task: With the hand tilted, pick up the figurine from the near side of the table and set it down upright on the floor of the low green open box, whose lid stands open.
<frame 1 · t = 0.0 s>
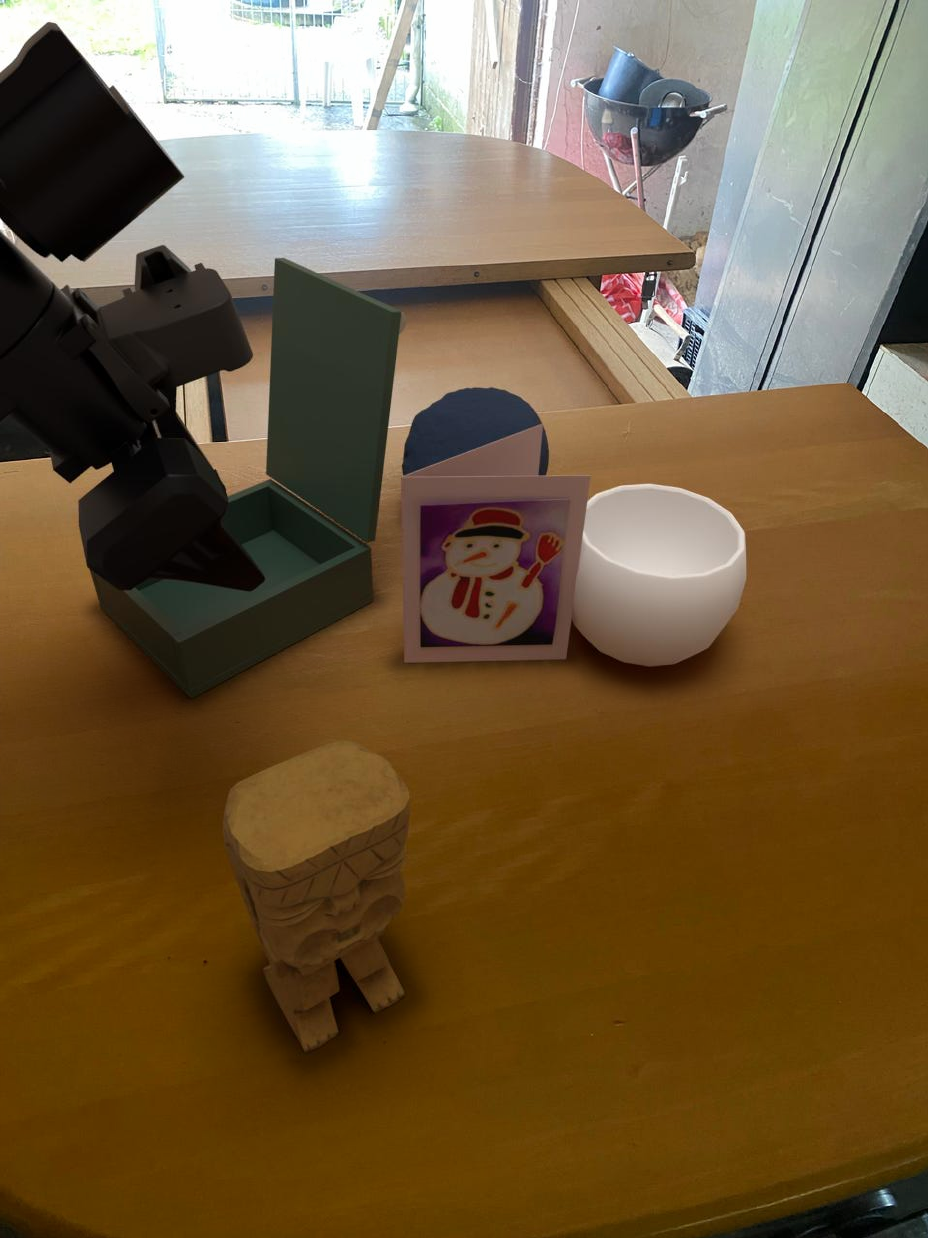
hand: (237, 537, 51), 14 cm above the table, tool tilted 35°, fingers open, 9 cm apart
green open box: (238, 605, 69), on the table
box lid: (346, 398, 66), point 13 cm above the table, hinge at 100.0°
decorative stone: (473, 517, 79), on the table
cup: (638, 639, 67), on the table
greeting card: (482, 636, 67), on the table
figurine: (330, 979, 46), on the table
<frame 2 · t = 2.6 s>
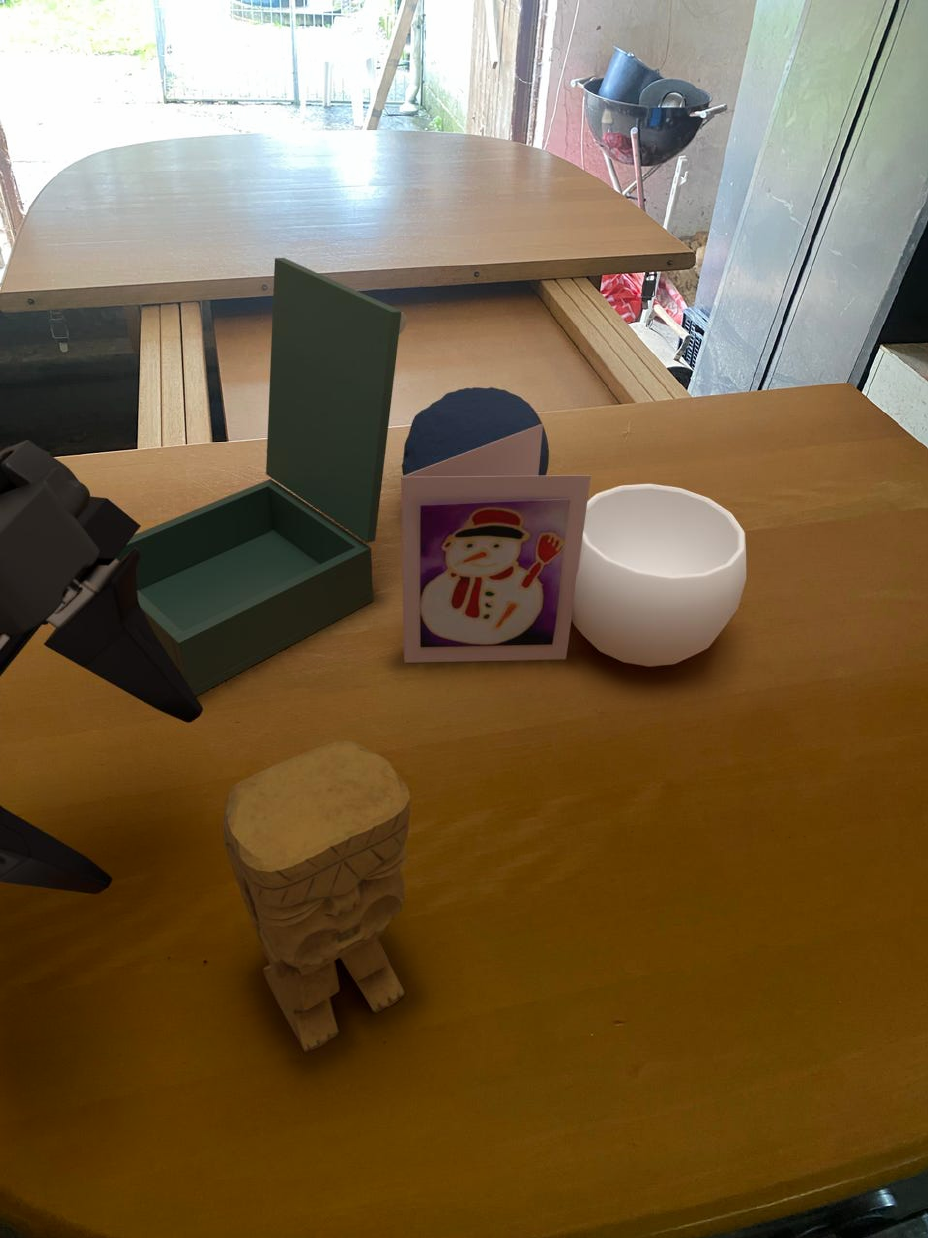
hand: (155, 794, 39), 13 cm above the table, tool tilted 45°, fingers open, 9 cm apart
nothing on the table moved.
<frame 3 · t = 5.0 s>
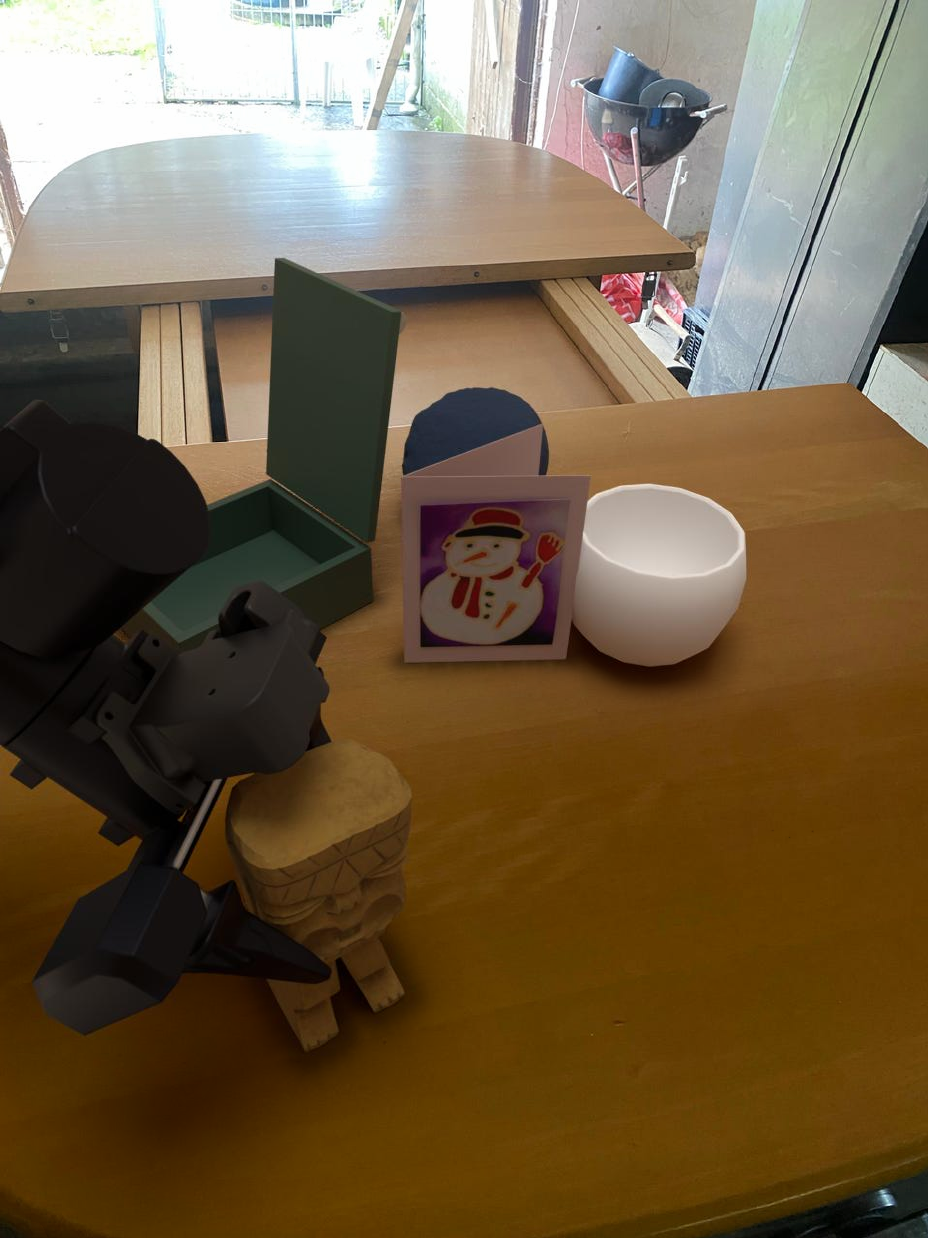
hand: (349, 896, 41), 8 cm above the table, tool tilted 45°, fingers closed on figurine, 7 cm apart
figurine: (330, 979, 46), on the table, touching gripper
everything else where it was.
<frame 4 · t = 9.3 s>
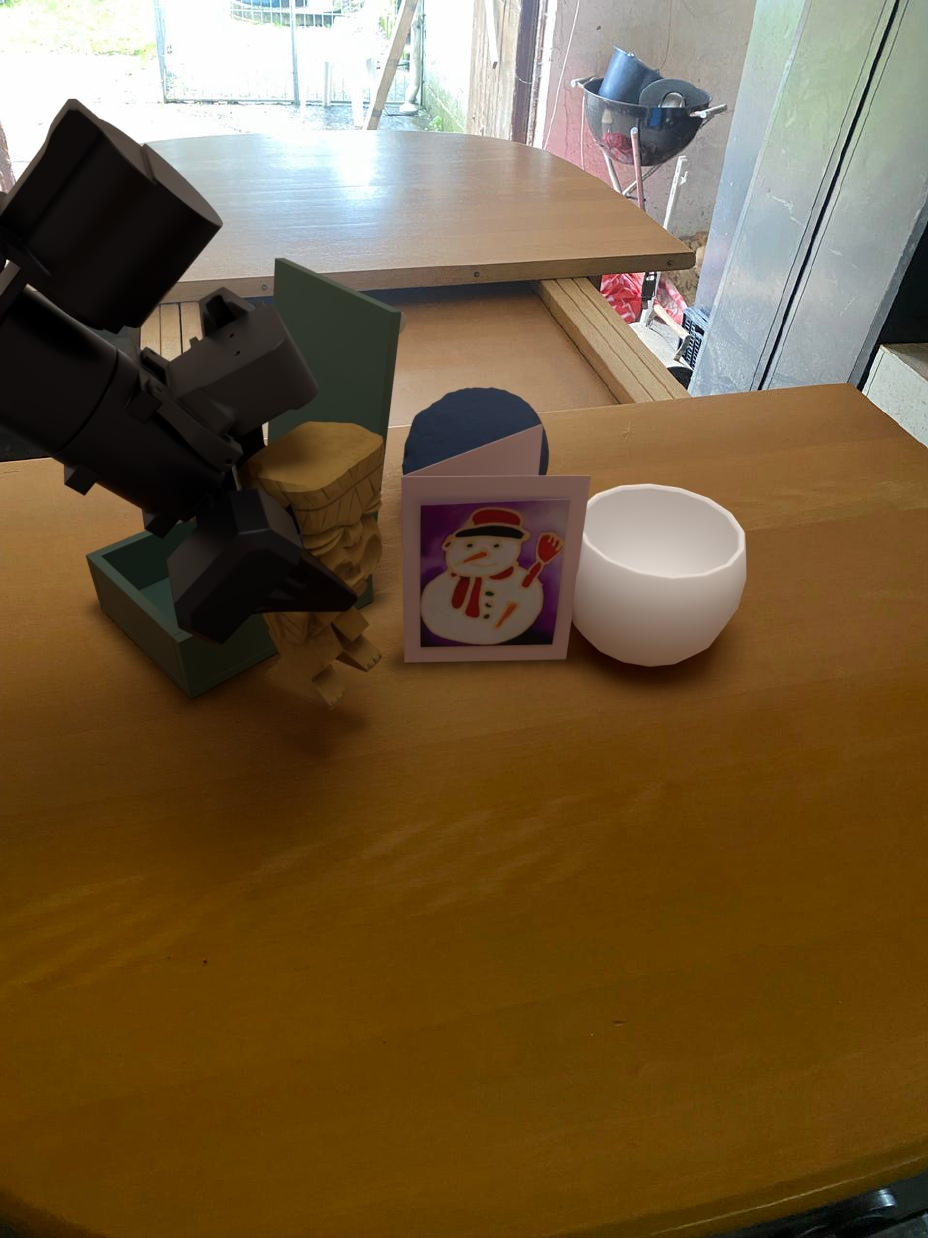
hand: (335, 561, 51), 13 cm above the table, tool tilted 45°, fingers closed on figurine, 7 cm apart
figurine: (319, 668, 56), point 5 cm above the table, touching gripper
everything else where it was.
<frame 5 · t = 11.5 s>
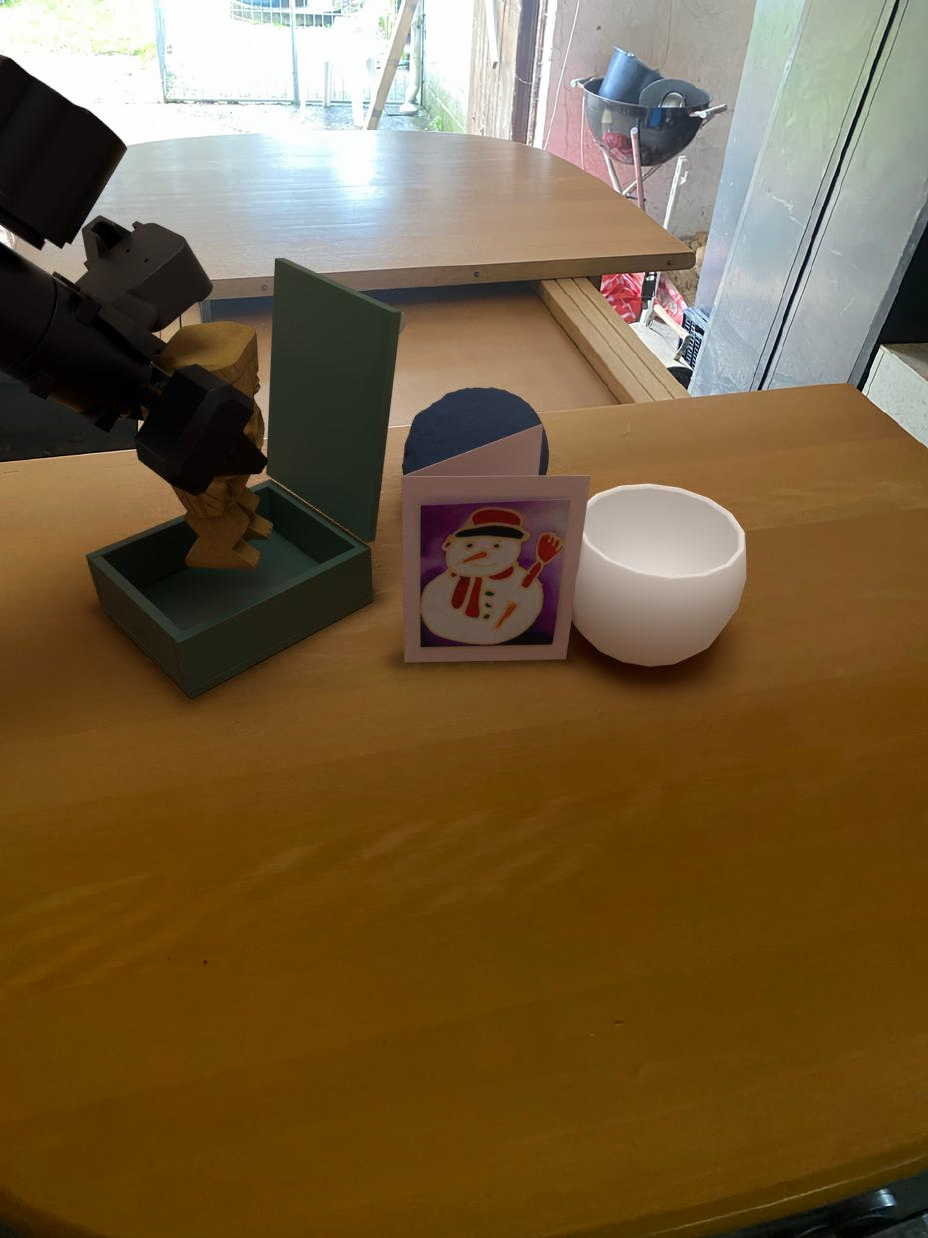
hand: (229, 443, 61), 13 cm above the table, tool tilted 45°, fingers closed on figurine, 7 cm apart
figurine: (225, 547, 65), point 5 cm above the table, touching gripper
everything else where it was.
when the fingers open (9 cm above the table, at t = 13.5 s): figurine stays where it is, resting on green open box.
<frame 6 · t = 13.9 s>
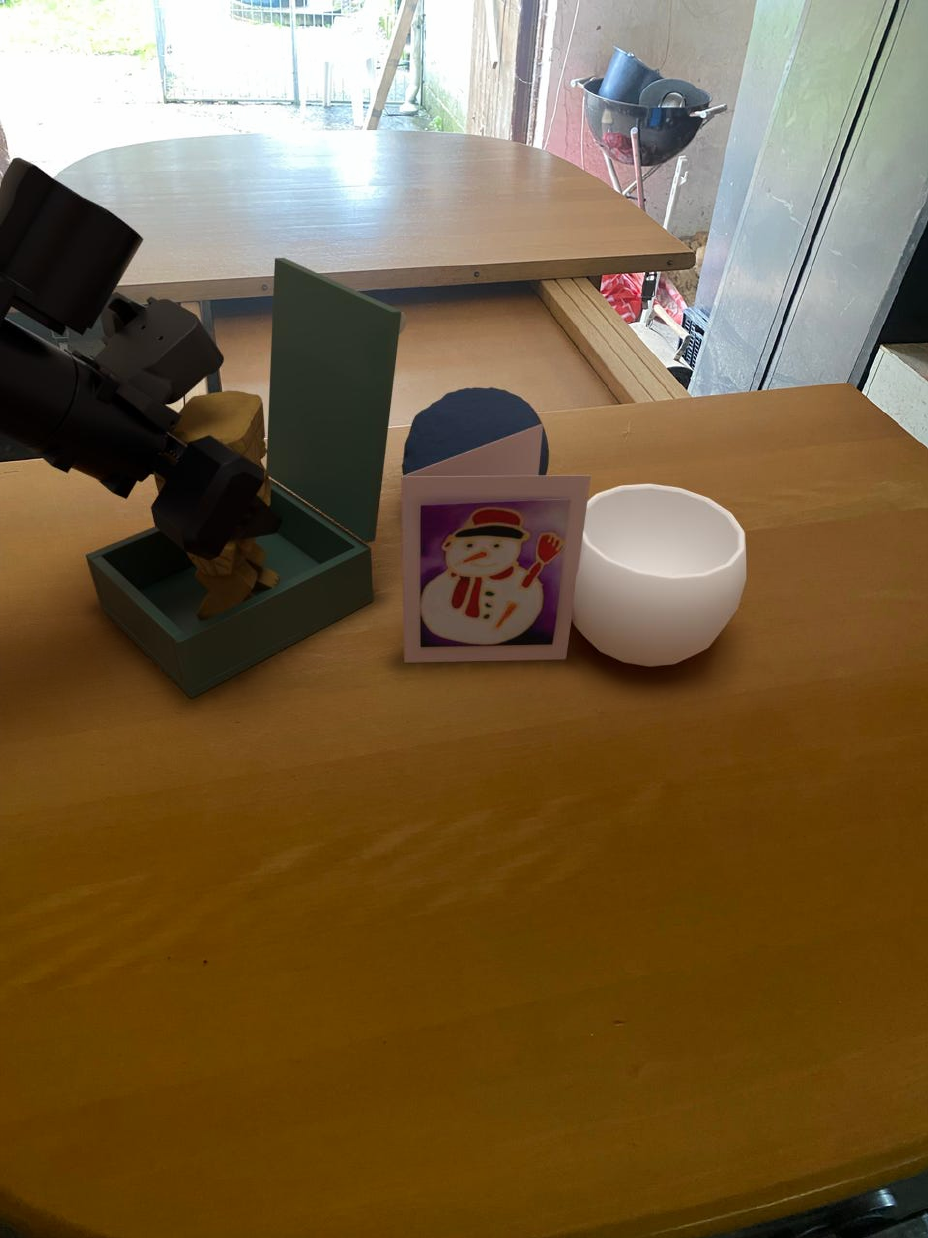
hand: (239, 498, 64), 9 cm above the table, tool tilted 45°, fingers open, 9 cm apart
figurine: (234, 599, 68), point 1 cm above the table, touching green open box
everything else where it was.
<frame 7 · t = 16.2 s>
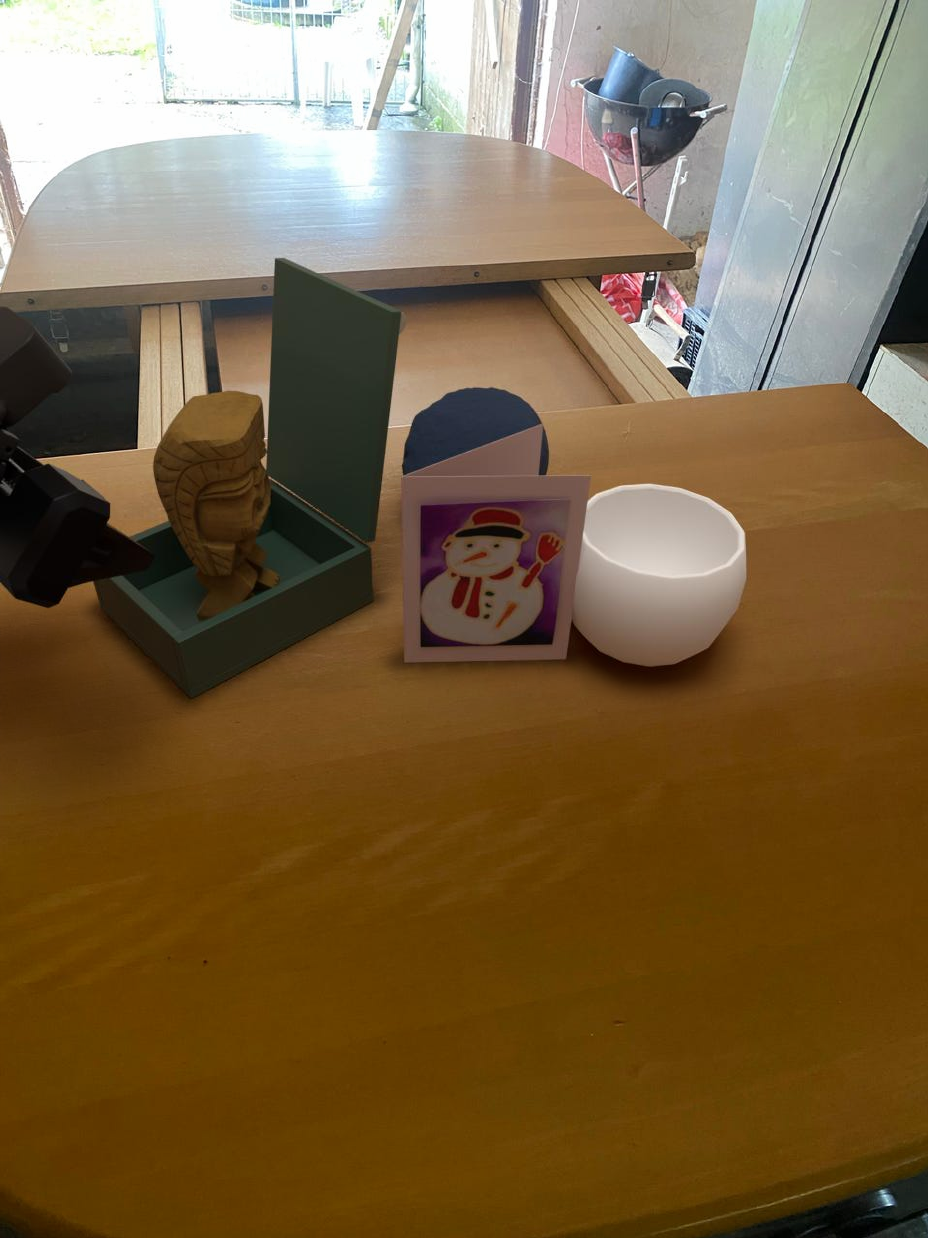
hand: (112, 529, 57), 11 cm above the table, tool tilted 45°, fingers open, 9 cm apart
nothing on the table moved.
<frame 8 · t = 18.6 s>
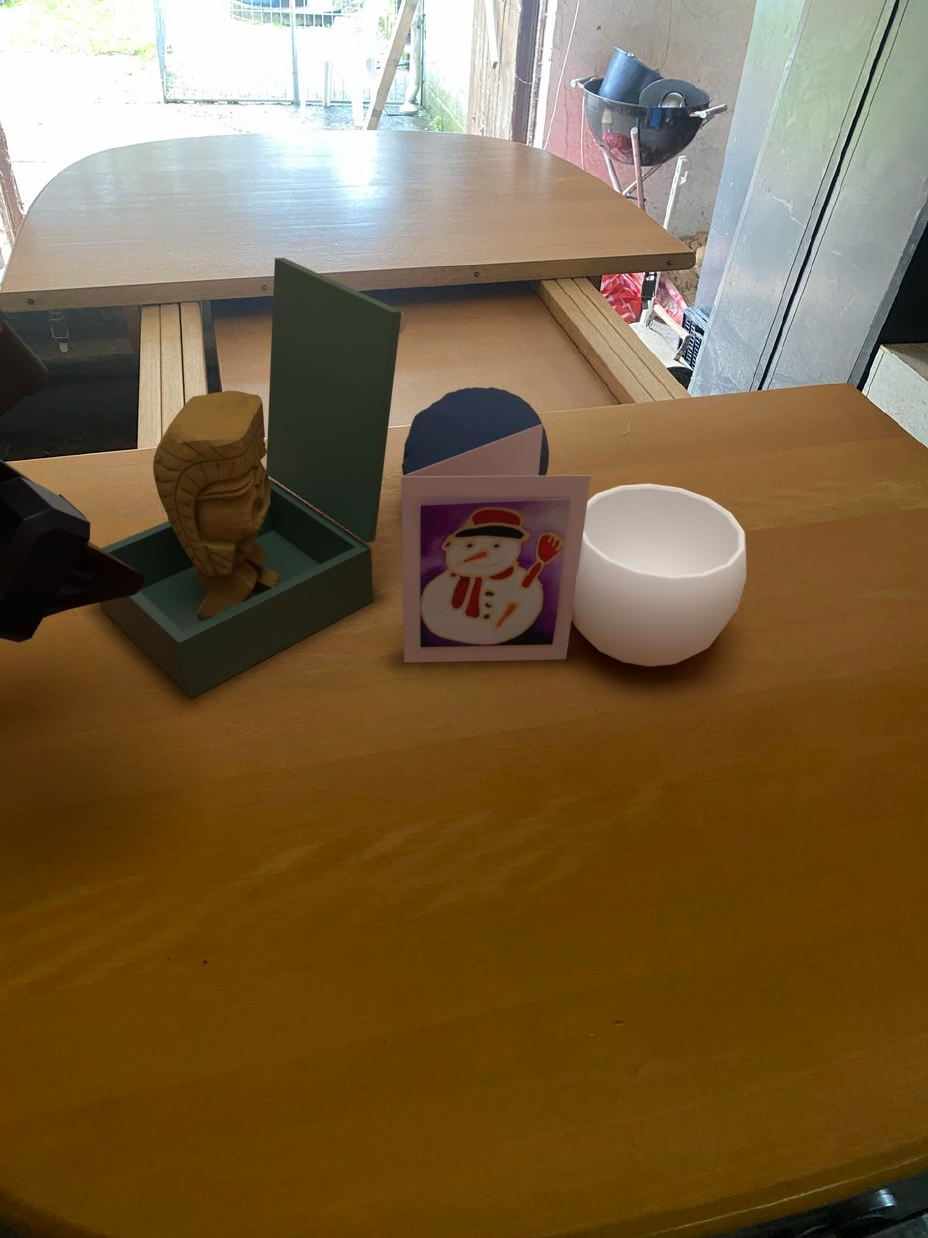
hand: (98, 546, 51), 14 cm above the table, tool tilted 45°, fingers open, 9 cm apart
nothing on the table moved.
at the end: figurine inside the target area in the green open box (0.2 cm from its centre), point 0.6 cm above the green open box's base; figurine tilted 0°; the gripper is holding nothing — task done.
